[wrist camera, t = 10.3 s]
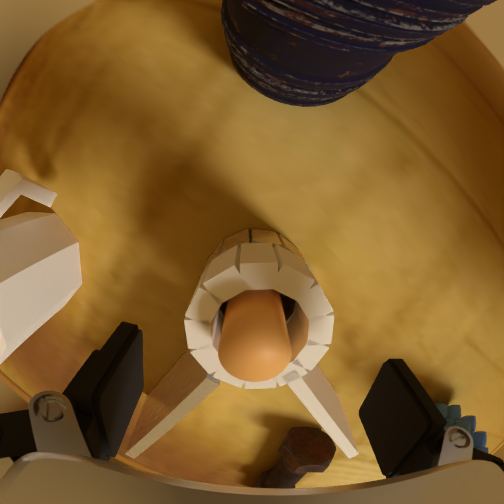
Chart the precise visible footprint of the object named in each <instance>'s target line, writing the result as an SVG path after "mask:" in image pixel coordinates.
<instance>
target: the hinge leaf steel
mask: <svg viewBox="0 0 504 504" xmlns="http://www.w3.org/2000/svg"><path fill="white" fill-rule="evenodd" d="M241 243H272V246H273V248H274V246H275V244H277V245H279V246H281V247H283V248H285V249H287V250H289V251H290V252H292V253H294V254H296V255H298V256H300V257H301V258H302V260H303V261H305V259H304V257H303V256H302V254H301V253H300V251H299V250H298V248H297V247H296V246H294V245H293V244H292V243H291V242H289V241H288V240H287V239H286V238H284V237H283V236H282V235H281V234H278V235H277V233H276V232H274V231H267V230H261V229H254V228H252V230H251V234H250V232H249V229H246V230H243V231H241V232H238V233H236V234H233V235H230V236H228V237H226V238H225V241H224V240H222V241H221V242H220V244H219V245H218V246H217V248H216V249H215V250H214V251H213V253H212V254H211V255H210V257H209V258H208V260H207V262H206V265H205V267H204V269H203V271H202V274H201V276H200V279H199V282H200V280H201V278H202V276H203V274H204V272H205V270H206V268H207V266H208V264H209V263H210V264H211V261H212V259H214V258H216V257H217V256H219V255H221V254H222V253H224V252H226V251H227V250H229V249H231V248H232V247H234V246H236V245H238V247H239V249H240V250H241ZM305 262H306V261H305ZM306 264H307V262H306ZM307 266H308V267H309V265H308V264H307ZM309 269H310V267H309ZM281 301H282V306H283V311H284V316H285V321H286V325H287V323H288V322H289V320H290V319H291V317H292V316H293V314H294V313H295V311H296V308H297V301H296V300H294V299H292V298H290V297H288V296H286V295H284V294H283V295H282V296H281ZM227 303H228V300H227V301H225V302H223V303H222V304H221V306H220V307H219V313H220V315H221V316H222V317H223V319H224V318H225V313H226V308H227ZM190 351H191V349H188V350H187V351H186V352H185V353H184V354H183V355H182V356H181V358H180V359H179V360H178V361H177V362H176V363H175V364H174V366H173V367H172V368H171V369H170V370H169V371H168V372H167V374H166V375H165V376H164V377H163V378H162V379H161V380H160V382H159V383H158V384H157V385H156V386H155V387H154V388H153V390H152V391H151V392H150V393H149V394H148V395H147V397H146V400H145V402H144V405H143V407H142V410H141V413H140V415H139V418H138V420H137V423H136V426H135V428H134V431H133V433H132V436H131V439H130V441H129V444H128V447H127V449H126V452H125V454H126V455H128V456H130V457H132V458H136V457H137V456H138V455H139V454H141V453H142V452H143V451H144V450H146V449H147V448H148V447H149V446H151V445H152V444H153V443H154V442H155V441H157V440H158V439H159V438H160V437H161V436H163V435H164V434H165V433H166V432H167V431H169V430H170V429H171V428H172V427H173V426H174V425H176V424H177V423H178V422H179V421H180V420H181V419H183V418H184V417H185V416H186V415H187V414H188V413H189V412H190V411H192V410H193V409H194V408H195V407H196V406H197V405H198V404H199V403H201V402H202V401H203V400H204V399H205V398H206V397H207V396H208V395H209V394H210V393H211V392H213V391H214V390H215V389H216V388H217V387H218V386H219V384H220V380H219V379H217V378H214V377H213V373H211V374H208V373H207V371H206V370H205V369H204V368H203V367H202V366H201V365H200V363H199V362H198V361H197V360H196V359H195V358H194V356H193V355H192V354H191V353H190Z"/></svg>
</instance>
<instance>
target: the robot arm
mask: <svg viewBox="0 0 504 504" xmlns="http://www.w3.org/2000/svg"><path fill="white" fill-rule="evenodd" d="M142 390H143V334H142V330H140V329H138V326H137V325H136V324H131V323H128V322H124V321H123V322H121V323H120V325H119V326H118V327H117V329H116V330H115V331H114V333H113V334H112V335H111V337H110V338H109V339H108V341H107V342H106V343H105V345H104V346H103V347H102V349H101V350H94V351H93V352H92V354H91V355H90V356H89V358H88V359H87V360H86V362H85V363H84V364H83V366H82V367H81V368H80V370H79V371H78V372H77V374H76V375H75V377H74V378H73V379H72V381H71V382H70V383H69V385H68V386H67V388H66V389H65V390H64V392H63V393H62V394H61V393H59V392H55V391H43V392H40V393H38V394H36V395H35V396H34V397H33V398H32V399H31V400H30V403H29V409H28V410H22V411H15V412H9V413H2V414H0V504H504V462H503V460H501V459H500V458H498V457H496V456H493V455H491V454H488V453H486V452H483V451H481V450H478V449H476V448H473V438H472V436H471V435H470V433H469V432H468V431H467V430H465V429H464V428H462V427H458V426H451V427H449V428H448V429H447V430H446V431H445V430H444V427H445V426H446V424H447V421H446V420H445V418H444V417H443V415H442V414H441V412H440V411H439V409H438V408H437V406H436V405H435V404H434V402H433V401H432V399H431V398H430V396H429V395H428V394H427V392H426V391H425V389H424V388H423V386H422V385H421V384H420V382H419V381H418V380H417V378H416V377H415V375H414V374H413V373H412V371H411V370H410V369H409V367H408V366H407V364H406V363H405V362H404V360H402V359H388V360H387V361H386V362H385V363H383V365H382V367H381V369H380V371H379V373H378V375H377V377H376V379H375V381H374V383H373V385H372V387H371V389H370V391H369V393H368V395H367V396H366V398H365V400H364V402H363V404H362V405H361V407H360V409H359V417H360V419H361V422H362V424H363V427H364V429H365V432H366V434H367V436H368V439H369V441H370V444H371V446H372V449H373V451H374V454H375V457H376V459H377V462H378V464H379V467H380V469H381V472H382V474H383V475H384V476H386V478H387V479H382V480H377V481H371V482H364V483H357V484H350V485H341V486H331V487H318V488H292V489H275V488H249V487H236V486H225V485H216V484H209V483H202V482H195V481H189V480H184V479H179V478H173V477H168V476H163V475H159V474H154V473H150V472H146V471H142V470H138V469H134V468H131V467H127V466H123V465H119V464H115V463H112V462H109V459H110V457H115V456H116V455H117V452H118V450H119V447H120V444H121V442H122V439H123V437H124V434H125V432H126V429H127V427H128V425H129V422H130V420H131V417H132V415H133V412H134V410H135V408H136V405H137V403H138V400H139V398H140V396H141V393H142Z"/></svg>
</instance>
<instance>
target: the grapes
mask: <svg viewBox="0 0 504 504" xmlns="http://www.w3.org/2000/svg"><path fill="white" fill-rule="evenodd" d="M435 405H436V406H437V408H438V409H439V411H440V412H441V414H442V415H443V417H444V418H445V420H446V421H447V424H446V426H445V427H444V430H445V431H446V430H447V429H448V428H449V427H451V426H458V427H462V428H464V429H465V430H467V431H468V432H469V433H470V435H471V436H472V438H473V448H476V449H478V450H481V451H483V452H486V453H488V448H486V447H485V445H486V432H483V431H478V432H474V431H475V428H476V418H475V416H464V417H462V418H461V408H460V405H450V406H446V403H436V404H435ZM460 418H461V419H460Z"/></svg>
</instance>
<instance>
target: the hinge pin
mask: <svg viewBox="0 0 504 504" xmlns="http://www.w3.org/2000/svg"><path fill="white" fill-rule="evenodd" d="M218 357H219V361H220V363H221V365H222V367H223V368H224V369H225V370H226V371H227V372H228V373H229V374H230V375H232V376H233V377H235V378H238V379H240V380H244V381H249V382H261V381H266V380H269V379H272V378H274V377H276V376H277V375H279V374H280V373H281V372H283V371H284V370H285V368H286V367H287V366H288V364H289V362H290V359H291V346H290V341H289V336H288V331H287V326H286V321H285V316H284V311H283V306H282V301H281V296H280V292H278V291H276V290H274V289H265V290H245V291H243V292H241V293H239V294H237V295H236V296H234V297H232V298H230V299H229V300H228V303H227V308H226V313H225V318H224V323H223V328H222V333H221V338H220V343H219V348H218Z"/></svg>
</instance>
